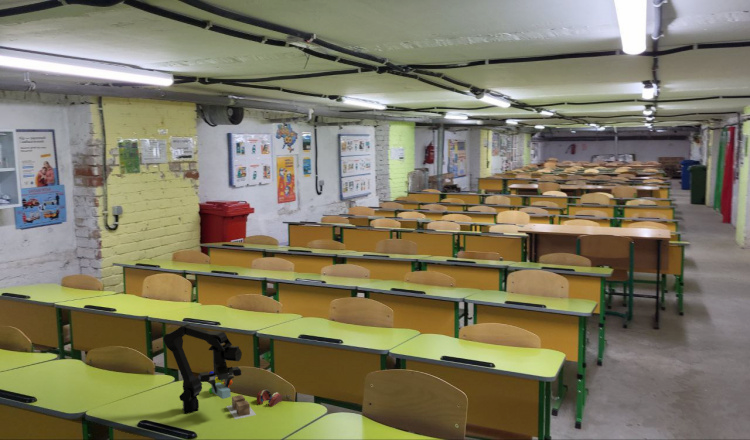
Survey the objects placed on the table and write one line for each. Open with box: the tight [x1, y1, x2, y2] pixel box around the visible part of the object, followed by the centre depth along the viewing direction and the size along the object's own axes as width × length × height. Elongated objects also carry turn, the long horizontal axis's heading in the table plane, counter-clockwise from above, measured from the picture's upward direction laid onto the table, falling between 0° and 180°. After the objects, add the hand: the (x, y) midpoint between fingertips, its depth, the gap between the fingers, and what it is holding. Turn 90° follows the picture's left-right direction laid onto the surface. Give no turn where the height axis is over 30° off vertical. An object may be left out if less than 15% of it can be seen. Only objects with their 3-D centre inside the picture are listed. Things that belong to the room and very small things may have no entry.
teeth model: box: [256, 389, 283, 407], centre depth 290 cm, size 8×6×12 cm
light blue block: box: [211, 382, 232, 400], centre depth 277 cm, size 12×4×4 cm, turn 39°
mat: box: [225, 404, 257, 420], centre depth 281 cm, size 10×17×1 cm, turn 28°
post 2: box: [236, 399, 251, 417], centre depth 277 cm, size 5×5×5 cm
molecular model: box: [208, 371, 234, 394], centre depth 304 cm, size 12×7×12 cm, turn 64°
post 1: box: [231, 394, 246, 410], centre depth 284 cm, size 5×5×5 cm
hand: (220, 391), depth 277 cm, fingers closed on light blue block, 4 cm apart
